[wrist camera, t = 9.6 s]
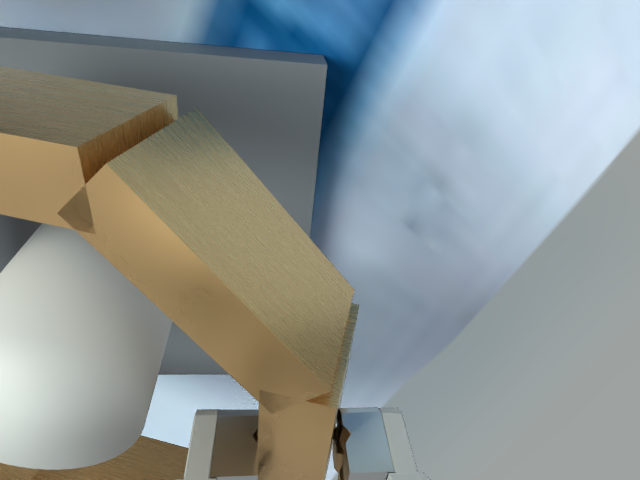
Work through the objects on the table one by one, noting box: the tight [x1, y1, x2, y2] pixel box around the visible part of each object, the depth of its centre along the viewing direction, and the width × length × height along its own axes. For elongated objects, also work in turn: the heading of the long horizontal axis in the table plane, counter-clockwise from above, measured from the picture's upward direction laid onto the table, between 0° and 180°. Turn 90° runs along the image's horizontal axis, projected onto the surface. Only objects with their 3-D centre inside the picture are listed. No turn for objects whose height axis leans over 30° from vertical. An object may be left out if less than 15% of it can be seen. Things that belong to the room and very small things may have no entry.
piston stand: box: [0, 27, 327, 470], centre depth 14 cm, size 14×14×8 cm
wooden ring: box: [0, 66, 359, 480], centre depth 12 cm, size 14×14×3 cm
